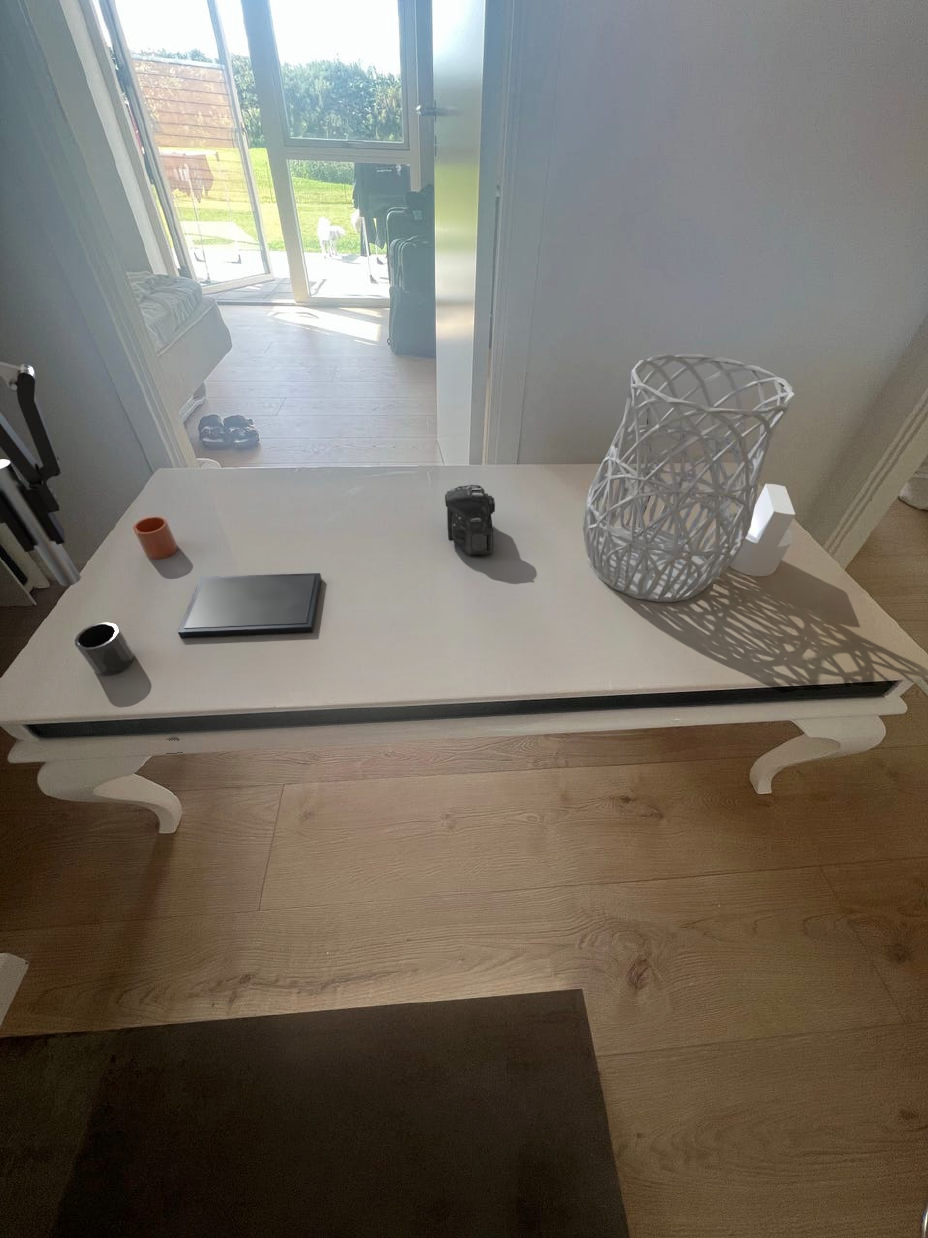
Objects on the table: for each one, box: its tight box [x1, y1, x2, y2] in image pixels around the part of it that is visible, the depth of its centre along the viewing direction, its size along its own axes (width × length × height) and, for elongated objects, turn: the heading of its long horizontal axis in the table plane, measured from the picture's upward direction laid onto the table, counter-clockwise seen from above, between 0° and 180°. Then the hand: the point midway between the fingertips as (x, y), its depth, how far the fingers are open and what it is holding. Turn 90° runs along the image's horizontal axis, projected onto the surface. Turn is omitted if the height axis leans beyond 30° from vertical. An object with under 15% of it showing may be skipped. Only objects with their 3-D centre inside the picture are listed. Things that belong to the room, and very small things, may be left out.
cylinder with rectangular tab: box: [728, 483, 796, 577], centre depth 85 cm, size 9×9×12 cm
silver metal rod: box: [0, 459, 82, 587], centre depth 55 cm, size 2×2×15 cm
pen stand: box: [74, 621, 135, 677], centre depth 67 cm, size 5×5×5 cm
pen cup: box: [132, 516, 178, 560], centre depth 85 cm, size 5×5×5 cm
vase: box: [582, 353, 795, 603], centre depth 78 cm, size 24×24×30 cm
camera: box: [444, 484, 496, 556], centre depth 88 cm, size 13×10×10 cm
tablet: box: [177, 572, 322, 639], centre depth 77 cm, size 18×12×1 cm, turn 95°
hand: (45, 540), depth 56 cm, fingers closed on silver metal rod, 2 cm apart
